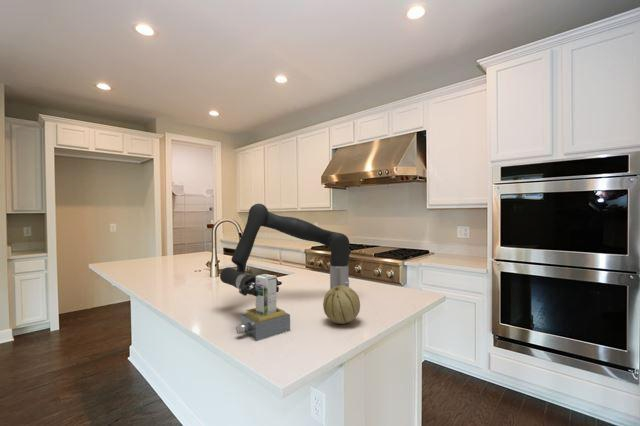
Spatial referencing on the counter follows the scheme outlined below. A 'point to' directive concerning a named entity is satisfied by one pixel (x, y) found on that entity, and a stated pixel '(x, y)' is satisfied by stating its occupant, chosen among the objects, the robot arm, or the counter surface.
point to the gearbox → (263, 324)
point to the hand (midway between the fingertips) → (267, 291)
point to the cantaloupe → (341, 304)
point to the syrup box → (266, 294)
